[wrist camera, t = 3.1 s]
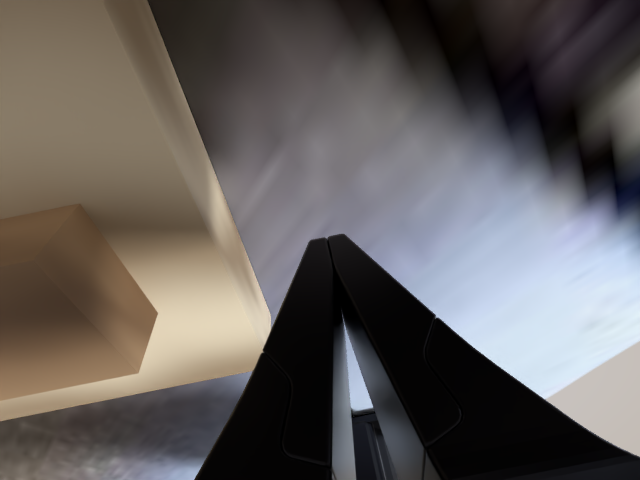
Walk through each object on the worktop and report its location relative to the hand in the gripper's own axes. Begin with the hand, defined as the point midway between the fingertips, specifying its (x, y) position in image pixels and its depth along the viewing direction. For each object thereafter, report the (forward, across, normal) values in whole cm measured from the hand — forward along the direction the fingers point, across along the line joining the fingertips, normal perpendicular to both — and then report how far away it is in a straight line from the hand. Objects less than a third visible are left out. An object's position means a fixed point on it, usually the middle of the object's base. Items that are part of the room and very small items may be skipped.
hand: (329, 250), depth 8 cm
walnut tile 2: (+1, +7, 0) cm, 7 cm away
